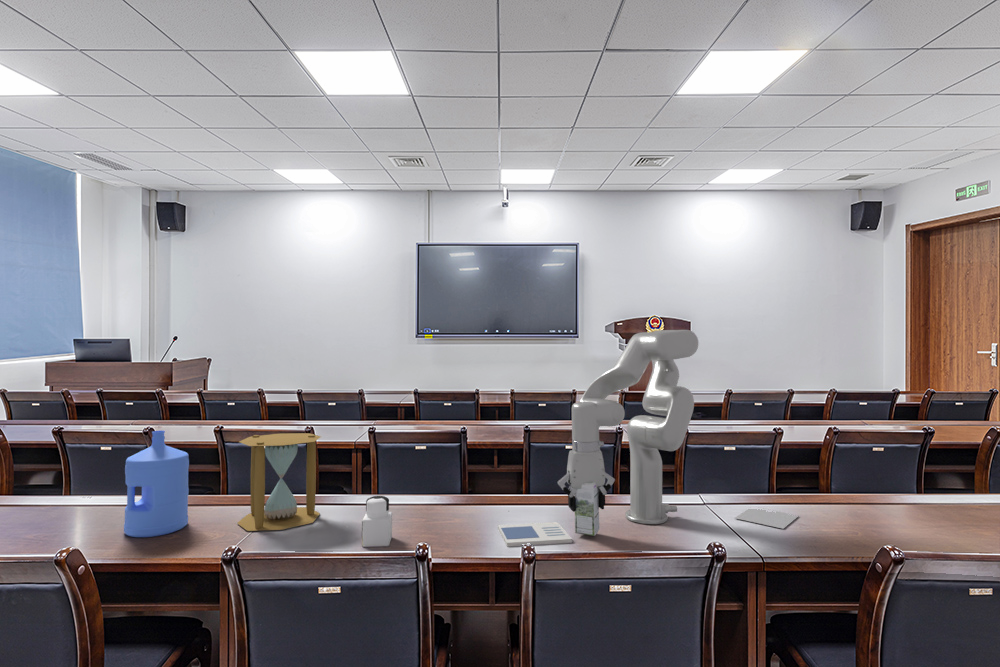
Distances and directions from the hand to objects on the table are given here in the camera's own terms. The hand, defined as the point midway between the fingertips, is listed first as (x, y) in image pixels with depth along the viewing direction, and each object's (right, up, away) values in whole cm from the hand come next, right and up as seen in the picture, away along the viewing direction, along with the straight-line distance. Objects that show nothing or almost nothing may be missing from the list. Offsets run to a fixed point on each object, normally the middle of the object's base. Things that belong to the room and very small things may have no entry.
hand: (586, 508), depth 152 cm
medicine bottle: (-58, -7, -6) cm, 58 cm away
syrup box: (0, -7, 0) cm, 7 cm away
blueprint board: (-15, -7, 0) cm, 17 cm away
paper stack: (+59, -9, +10) cm, 61 cm away
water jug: (-123, -7, +4) cm, 124 cm away
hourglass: (-91, -8, +13) cm, 93 cm away
